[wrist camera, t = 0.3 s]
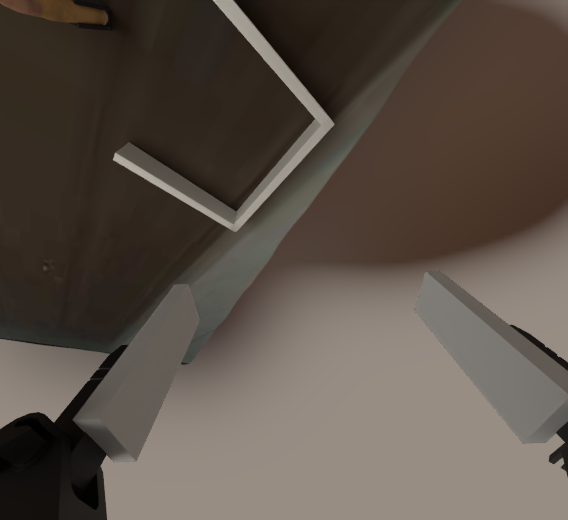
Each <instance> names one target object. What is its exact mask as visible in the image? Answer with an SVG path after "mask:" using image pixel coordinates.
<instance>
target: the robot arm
mask: <svg viewBox="0 0 568 520" xmlns="http://www.w3.org/2000/svg"><path fill="white" fill-rule="evenodd" d="M414 311H415V312H416V313H417V314H418V316H419V317H420V318H421V319H422V321H423V322H424V323H425V324H426V325H427V327H428V328H429V329H430V330H431V332H432V333H433V334H434V335H435V337H436V338H437V339H438V340H439V341H440V343H441V344H442V345H443V346H444V348H445V349H446V350H447V351H448V352H449V354H450V355H451V356H452V357H453V358H454V360H455V361H456V362H457V363H458V365H459V366H460V367H461V368H462V370H463V371H464V372H465V373H466V374H467V375H468V377H469V378H470V379H471V381H472V382H473V383H474V384H475V385H476V387H477V388H478V389H479V390H480V392H481V393H482V394H483V395H484V397H485V398H486V399H487V400H488V401H489V403H490V404H491V405H492V406H493V408H494V409H495V410H496V411H497V412H498V414H499V415H500V416H501V417H502V419H503V420H504V421H505V422H506V423H507V425H508V426H509V427H510V428H511V430H512V431H513V432H514V433H515V435H516V436H517V437H518V438H519V439H520V441H521V442H522V443H523V444H525V443H546V442H547V441H548V440H549V439H550V438H551V437H552V436H554V434H556V433H557V434H558V435H559V436H560V437H561V438H562V440H563V441H564V442H565V443H564V444H563V445H562V446H561V447H559V448H558V449H557V450H556V451H555V452H553V453H552V454H551V455H550V456H549V462H551V463H552V464H555V463H556V462H557V461H559V460H560V459H561V458H563V459H564V465H563V466H562V467H561V468H562V469H564V470H565V471H566V472H567V476H568V362H566V361H565V360H564V359H562V358H561V357H558V356H557V354H556V353H555V352H553V351H552V350H551V349H549V348H546V347H545V345H544V344H543V343H541V342H540V341H538V340H537V339H536V338H535V337H533V336H532V335H531V334H529V333H527V332H525V331H523V330H521V329H520V328H517V327H516V326H514V325H508V324H507V323H506V322H505V321H503V320H502V319H501V318H499V317H498V316H497V315H496V314H494V313H493V312H492V311H491V310H489V309H488V308H487V307H485V306H484V305H483V304H482V303H480V302H479V301H478V300H476V299H475V298H474V297H473V296H471V295H470V294H469V293H468V292H466V291H465V290H464V289H462V288H461V287H460V286H459V285H457V284H456V283H455V282H453V281H452V280H451V279H450V278H448V277H447V276H446V275H444V274H443V273H442V272H441V271H426V273H425V276H424V279H423V282H422V286H421V289H420V292H419V296H418V298H417V302H416V305H415V308H414ZM199 322H200V320H199V316H198V313H197V310H196V307H195V304H194V301H193V298H192V294H191V291H190V288H189V285H188V284H179V285H174V286H173V287H172V289H171V290H170V291H169V293H168V294H167V295H166V297H165V298H164V299H163V301H162V302H161V303H160V305H159V306H158V307H157V309H156V310H155V311H154V313H153V314H152V315H151V317H150V318H149V319H148V320H147V322H146V323H145V324H144V326H143V327H142V328H141V330H140V331H139V332H138V334H137V335H136V336H135V338H134V339H133V340H132V342H131V343H130V344H129V345H121V346H120V347H119V348H118V349H116V350H115V351H114V352H113V353H111V354H110V355H109V356H108V357H107V358H106V360H105V361H104V362H103V363H102V364H101V366H100V367H99V370H97V371H96V372H95V373H94V374H93V376H92V377H91V378H90V381H88V382H87V383H86V384H85V385H84V387H83V388H82V389H81V390H80V392H79V393H78V394H77V395H76V396H75V398H74V399H73V400H72V401H71V403H70V404H69V405H68V406H67V408H66V409H65V410H64V411H63V412H62V414H61V415H60V416H59V417H58V419H57V420H56V421H55V422H54V423H53V422H52V421H51V420H50V419H49V418H48V417H47V416H46V415H45V414H42V413H39V412H37V413H30V414H27V415H25V416H22V417H20V418H17V419H15V420H14V421H12V422H11V423H9V424H7V425H6V426H4V427H3V428H1V429H0V520H107V515H106V514H107V513H106V502H105V491H104V478H103V471H102V469H101V467H100V466H101V464H102V462H103V460H104V458H105V457H106V455H107V456H108V457H109V458H110V459H111V460H112V461H113V462H134V461H137V459H138V456H139V454H140V452H141V450H142V448H143V445H144V443H145V441H146V439H147V437H148V435H149V432H150V430H151V428H152V426H153V423H154V421H155V419H156V417H157V415H158V412H159V410H160V408H161V406H162V404H163V401H164V399H165V397H166V395H167V393H168V390H169V388H170V386H171V384H172V382H173V379H174V377H175V375H176V373H177V371H178V368H179V366H180V364H181V362H182V360H183V357H184V355H185V353H186V351H187V349H188V346H189V344H190V342H191V340H192V338H193V335H194V333H195V331H196V329H197V326H198V324H199Z"/></svg>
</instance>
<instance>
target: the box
mask: <svg viewBox="0 0 568 520" xmlns="http://www.w3.org/2000/svg"><path fill="white" fill-rule="evenodd" d="M213 1H214V2H215V3H216V4H217V5H218V7H219V8H220V9H221V10H222V11H223V12H224V14H225V15H226V16H227V17H228V18H229V19H230V20H231V22H232V23H233V24H234V25H235V26H236V27H237V29H238V30H239V31H240V32H241V33H242V34H243V35H244V37H245V38H246V39H247V40H248V41H249V42H250V44H251V45H252V46H253V47H254V48H255V49H256V51H257V52H258V53H259V54H260V55H261V56H262V57H263V59H264V60H265V61H266V62H267V63H268V64H269V66H270V67H271V68H272V69H273V70H274V71H275V72H276V74H277V75H278V76H279V77H280V78H281V79H282V81H283V82H284V83H285V84H286V85H287V86H288V88H289V89H290V90H291V91H292V92H293V93H294V94H295V96H296V97H297V98H298V99H299V100H300V101H301V103H302V104H303V105H304V106H305V107H306V108H307V109H308V111H309V112H310V113H311V114H312V115H313V116H314V118H315V120H314V121H313V122H312V123H311V124H310V125H309V127H308V128H307V129H306V130H305V131H304V133H303V134H302V135H301V136H300V137H299V138H298V140H297V141H296V142H295V143H294V144H293V145H292V147H291V148H290V149H289V150H288V151H287V153H286V154H285V155H284V156H283V157H282V158H281V160H280V161H279V162H278V163H277V164H276V166H275V167H274V168H273V169H272V170H271V171H270V173H269V174H268V175H267V176H266V177H265V179H264V180H263V181H262V182H261V183H260V184H259V186H258V187H257V188H256V189H255V190H254V192H253V193H252V194H251V195H250V196H249V197H248V199H247V200H246V201H245V202H244V203H243V205H242V206H241V207H240V208H239V209H238V210H237V212H236V211H234V210H233V209H231V208H230V207H228V206H227V205H225V204H224V203H222V202H221V201H219V200H217V199H216V198H214V197H213V196H211V195H210V194H208V193H207V192H205V191H204V190H202V189H200V188H199V187H197V186H196V185H194V184H193V183H191V182H190V181H188V180H187V179H185V178H184V177H182V176H180V175H179V174H177V173H176V172H174V171H173V170H171V169H170V168H168V167H167V166H165V165H164V164H162V163H160V162H159V161H157V160H156V159H154V158H153V157H151V156H150V155H148V154H147V153H145V152H144V151H142V150H140V149H139V148H137V147H136V146H134V145H133V144H131V143H130V142H129V143H128V144H126V145H125V146H124V147H122V148H121V149H120V150H118V151H117V152H116V153H115V155H114V158H113V160H114V161H116V162H118V163H119V164H121V165H123V166H124V167H126V168H128V169H129V170H131V171H133V172H135V173H136V174H138V175H140V176H141V177H143V178H145V179H146V180H148V181H150V182H151V183H153V184H155V185H157V186H158V187H160V188H162V189H163V190H165V191H167V192H168V193H170V194H172V195H173V196H175V197H177V198H178V199H180V200H182V201H184V202H185V203H187V204H189V205H190V206H192V207H194V208H195V209H197V210H199V211H200V212H202V213H204V214H205V215H207V216H209V217H211V218H212V219H214V220H216V221H217V222H219V223H221V224H222V225H224V226H226V227H227V228H229V229H231V230H233V231H234V232H237V231H238V230H239V228H240V227H241V226H242V225H243V224H244V223H245V222H246V221H247V220H248V219H249V218H250V216H251V215H252V214H253V213H254V212H255V211H256V210H257V209H258V208H259V207H260V206H261V204H262V203H263V202H264V201H265V200H266V199H267V198H268V197H269V196H270V195H271V193H272V192H273V191H274V190H275V189H276V188H277V187H278V186H279V185H280V184H281V183H282V181H283V180H284V179H285V178H286V177H287V176H288V175H289V174H290V173H291V172H292V171H293V169H294V168H295V167H296V166H297V165H298V164H299V163H300V162H301V161H302V160H303V159H304V157H305V156H306V155H307V154H308V153H309V152H310V151H311V150H312V149H313V148H314V147H315V145H316V144H317V143H318V142H319V141H320V140H321V139H322V138H323V137H324V136H325V134H326V133H327V132H328V131H329V130H330V129H331V128H332V127H333V126H334V125H335V124H334V123H333V121H332V120H331V119H330V117H329V116H328V115H327V113H326V112H325V111H324V110H323V109H322V107H321V106H320V105H319V104H318V102H317V101H316V100H315V99H314V98H313V96H312V95H311V94H310V93H309V91H308V90H307V89H306V88H305V87H304V85H303V84H302V83H301V82H300V80H299V79H298V78H297V77H296V76H295V74H294V73H293V72H292V71H291V69H290V68H289V67H288V66H287V65H286V63H285V62H284V61H283V60H282V58H281V57H280V56H279V55H278V54H277V52H276V51H275V50H274V49H273V47H272V46H271V45H270V44H269V43H268V41H267V40H266V39H265V38H264V36H263V35H262V34H261V33H260V32H259V30H258V29H257V28H256V27H255V25H254V24H253V23H252V22H251V21H250V19H249V18H248V17H247V16H246V14H245V13H244V12H243V11H242V10H241V8H240V7H239V6H238V5H237V3H236V2H235V1H234V0H213Z"/></svg>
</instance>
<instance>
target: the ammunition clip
mask: <svg viewBox="0 0 568 520" xmlns="http://www.w3.org/2000/svg"><path fill="white" fill-rule="evenodd" d="M0 3H1V4H3V5H4V6H6V7H8V8H10V9H12V10H15V11H17V12H20V13H24V14H28V15H35V16H38V17H44V18H46V19H48V20H51V21H58V22H69V23H71V24H73V25H74V26H76V27H78V28H88V29H99V30H111V28H110V9H109V7H108V6H107V5H105V4H103V3H101V2H100V1H98V0H0Z"/></svg>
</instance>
